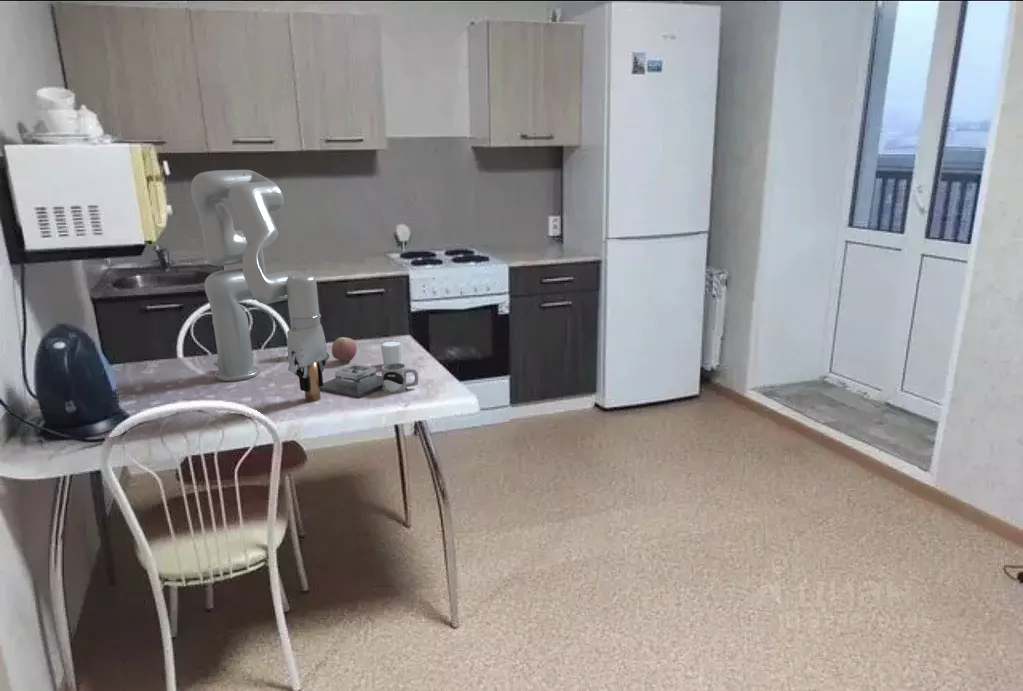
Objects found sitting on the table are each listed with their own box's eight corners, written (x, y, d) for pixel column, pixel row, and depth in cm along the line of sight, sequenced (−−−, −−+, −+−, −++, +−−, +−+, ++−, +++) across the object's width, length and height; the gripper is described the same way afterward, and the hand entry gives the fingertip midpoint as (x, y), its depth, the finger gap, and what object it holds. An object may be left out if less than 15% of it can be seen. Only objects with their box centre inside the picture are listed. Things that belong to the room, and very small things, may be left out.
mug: (381, 393, 195) (379, 370, 193) (384, 385, 201) (383, 363, 199) (417, 392, 195) (416, 369, 193) (420, 384, 201) (418, 362, 200)
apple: (354, 365, 220) (352, 340, 218) (330, 365, 220) (328, 341, 218) (360, 358, 228) (358, 334, 226) (336, 358, 228) (334, 334, 226)
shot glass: (405, 361, 223) (404, 340, 221) (403, 368, 216) (401, 346, 214) (383, 362, 223) (382, 340, 221) (380, 369, 216) (379, 346, 214)
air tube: (301, 400, 191) (296, 360, 188) (312, 395, 194) (308, 357, 191) (313, 402, 189) (309, 363, 186) (323, 398, 192) (320, 359, 189)
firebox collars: (316, 389, 199) (315, 372, 198) (353, 374, 212) (352, 358, 210) (360, 398, 191) (358, 381, 190) (395, 382, 204) (394, 366, 202)
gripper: (317, 314, 194) (324, 377, 199) (270, 327, 180) (278, 395, 185) (338, 316, 191) (344, 381, 196) (291, 331, 177) (298, 400, 182)
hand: (311, 387), depth 190 cm, fingers closed on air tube, 4 cm apart
